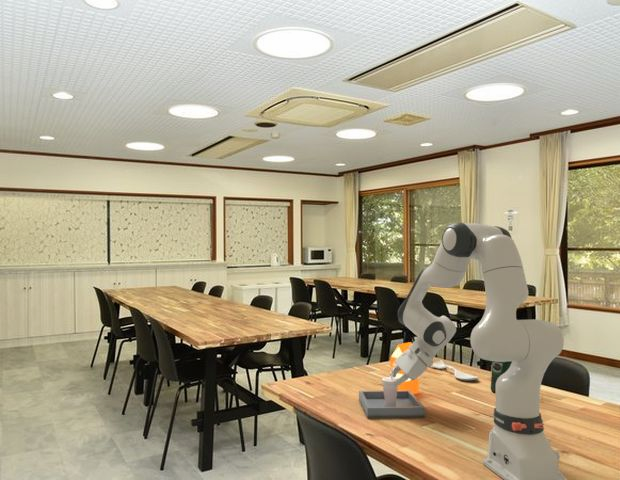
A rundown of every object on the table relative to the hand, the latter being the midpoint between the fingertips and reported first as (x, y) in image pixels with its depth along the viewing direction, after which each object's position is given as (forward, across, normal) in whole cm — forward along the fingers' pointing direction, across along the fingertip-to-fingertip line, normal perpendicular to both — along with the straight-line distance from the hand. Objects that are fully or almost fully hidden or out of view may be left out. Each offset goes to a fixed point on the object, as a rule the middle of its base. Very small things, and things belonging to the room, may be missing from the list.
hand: (393, 380), depth 178 cm
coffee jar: (-27, -17, +42) cm, 53 cm away
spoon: (-19, -47, +34) cm, 62 cm away
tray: (+8, 0, +6) cm, 10 cm away
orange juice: (+1, -19, +14) cm, 23 cm away
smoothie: (+8, 0, +6) cm, 10 cm away
